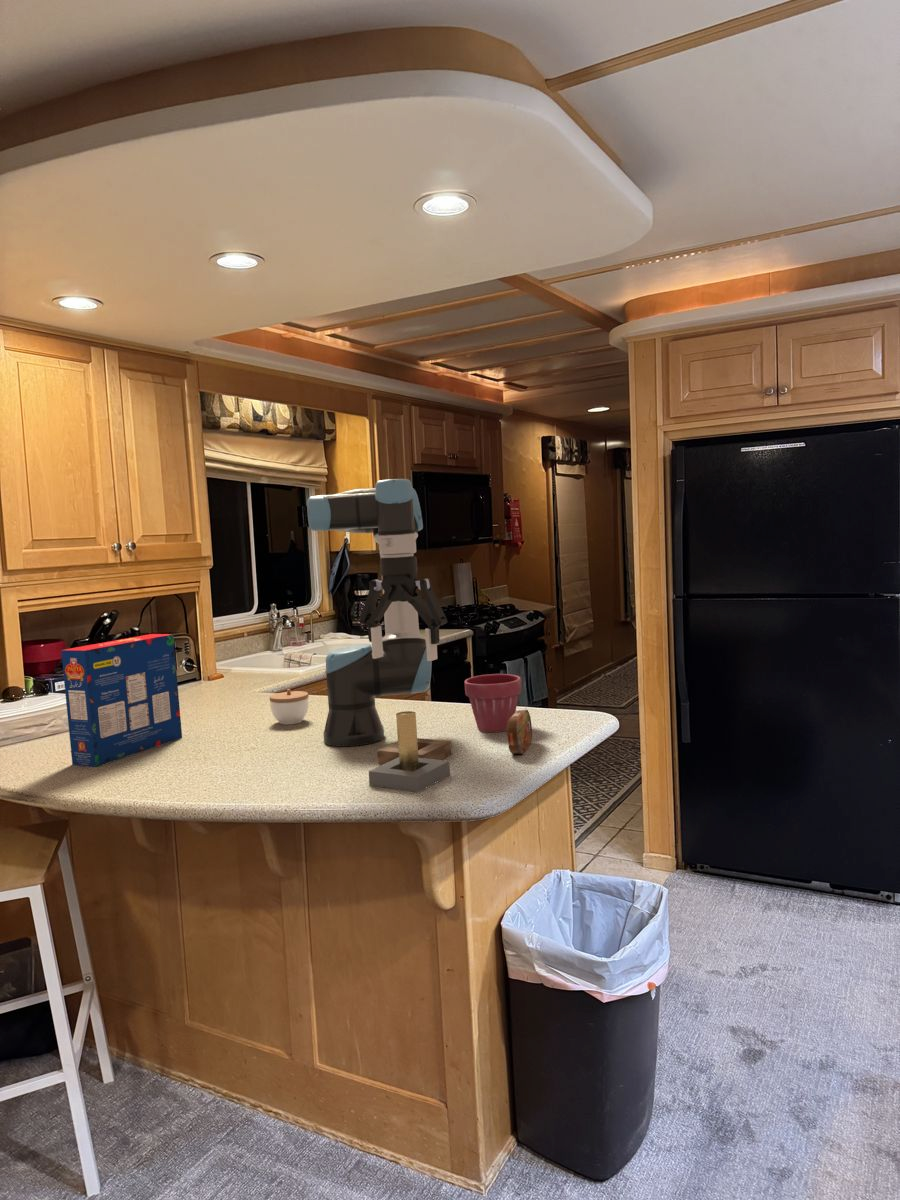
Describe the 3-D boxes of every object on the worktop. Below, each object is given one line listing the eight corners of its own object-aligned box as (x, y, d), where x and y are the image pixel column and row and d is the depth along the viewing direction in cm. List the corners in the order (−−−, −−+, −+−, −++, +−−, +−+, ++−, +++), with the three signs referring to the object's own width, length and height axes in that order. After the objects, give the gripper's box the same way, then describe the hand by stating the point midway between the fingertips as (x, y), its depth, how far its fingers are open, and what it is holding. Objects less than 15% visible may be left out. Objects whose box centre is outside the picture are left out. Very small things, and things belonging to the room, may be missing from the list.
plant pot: (461, 735, 206) (458, 684, 205) (473, 721, 220) (470, 674, 218) (518, 735, 202) (515, 683, 201) (527, 721, 216) (524, 673, 215)
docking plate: (369, 785, 169) (368, 771, 168) (402, 769, 179) (401, 755, 179) (418, 792, 162) (417, 777, 162) (450, 775, 173) (449, 760, 172)
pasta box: (160, 736, 224) (150, 634, 222) (182, 737, 221) (173, 634, 219) (72, 764, 199) (61, 650, 197) (95, 767, 196) (84, 650, 194)
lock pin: (396, 782, 170) (392, 715, 169) (407, 776, 173) (403, 710, 172) (412, 784, 168) (408, 716, 167) (423, 778, 171) (419, 711, 170)
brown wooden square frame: (378, 763, 185) (377, 750, 184) (408, 749, 195) (407, 737, 195) (423, 768, 178) (422, 755, 178) (451, 754, 189) (450, 741, 188)
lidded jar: (318, 719, 234) (315, 686, 233) (291, 728, 225) (289, 693, 224) (290, 716, 240) (287, 684, 239) (263, 725, 231) (260, 691, 230)
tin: (520, 758, 182) (518, 721, 181) (506, 758, 183) (504, 720, 182) (533, 741, 196) (532, 706, 196) (520, 740, 197) (519, 706, 197)
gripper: (338, 558, 172) (345, 659, 174) (440, 555, 159) (446, 664, 161) (360, 556, 178) (367, 653, 180) (460, 552, 165) (466, 657, 167)
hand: (404, 658), depth 171 cm, fingers open, 13 cm apart
